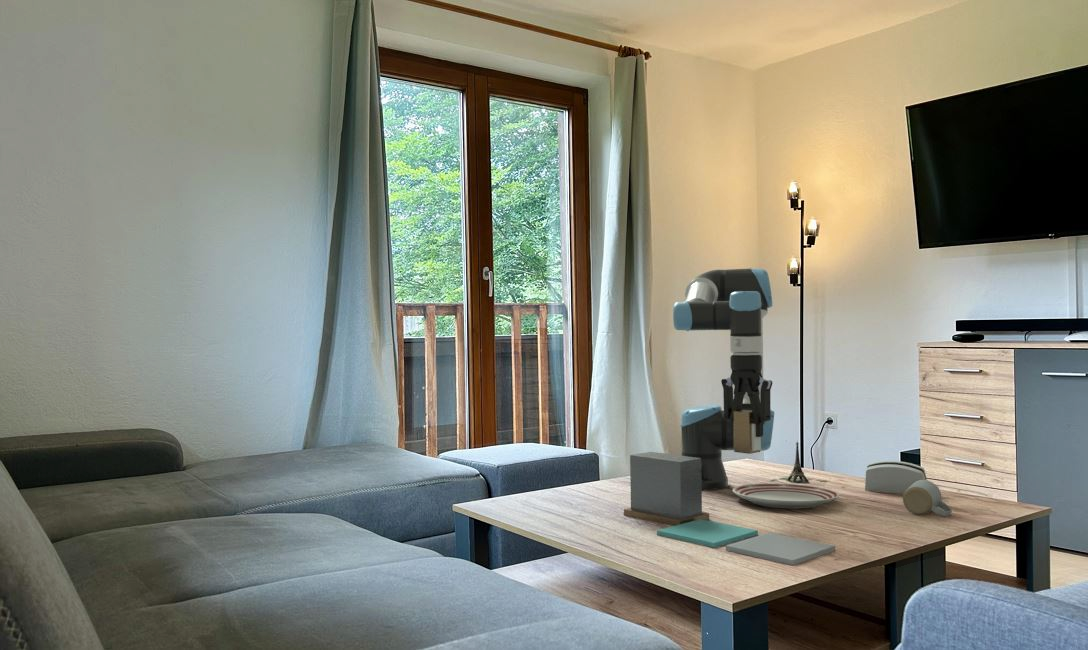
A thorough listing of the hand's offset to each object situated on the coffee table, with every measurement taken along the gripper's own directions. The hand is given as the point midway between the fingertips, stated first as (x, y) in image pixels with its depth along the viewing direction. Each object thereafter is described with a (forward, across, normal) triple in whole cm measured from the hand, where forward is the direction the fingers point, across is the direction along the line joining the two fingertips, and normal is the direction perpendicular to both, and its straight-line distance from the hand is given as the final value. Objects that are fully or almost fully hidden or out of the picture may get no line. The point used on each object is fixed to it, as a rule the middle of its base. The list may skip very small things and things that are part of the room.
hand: (747, 448), depth 211 cm
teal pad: (+17, +4, -21) cm, 27 cm away
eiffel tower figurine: (+17, -18, +52) cm, 57 cm away
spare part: (+1, 0, 0) cm, 1 cm away
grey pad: (+17, +23, -21) cm, 35 cm away
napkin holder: (+17, +11, +55) cm, 59 cm away
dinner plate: (+17, -4, +23) cm, 29 cm away
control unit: (+17, -14, -14) cm, 26 cm away
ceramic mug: (+17, +28, +35) cm, 48 cm away
